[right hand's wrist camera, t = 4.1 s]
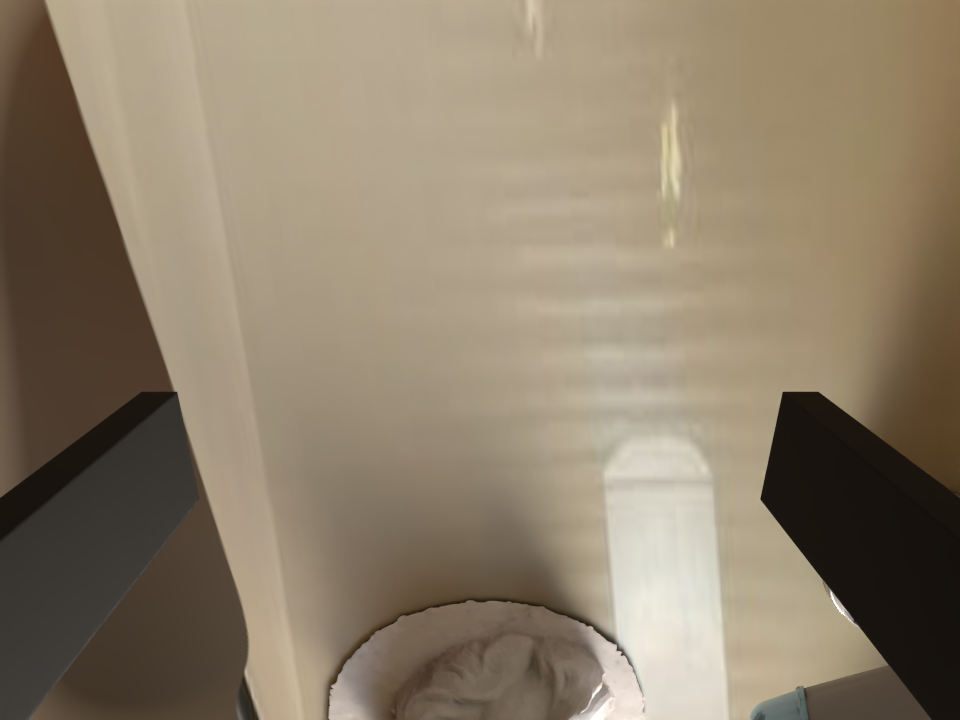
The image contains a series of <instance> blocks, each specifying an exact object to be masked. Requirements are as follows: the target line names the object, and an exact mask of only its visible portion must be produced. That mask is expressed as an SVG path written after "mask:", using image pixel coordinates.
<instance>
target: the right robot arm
mask: <svg viewBox="0 0 960 720" xmlns="http://www.w3.org/2000/svg"><path fill="white" fill-rule="evenodd" d="M198 501H199V494H198V490H197V485H196V480H195V475H194V470H193V466H192V461H191V456H190V451H189V446H188V442H187V437H186V432H185V427H184V423H183V418H182V413H181V408H180V403H179V399H178V394H177V392H141V393H140V394H138V395H137V396H136V397H134V398H133V399H132V400H130V401H129V402H128V403H126V404H125V405H124V406H122V407H121V408H120V409H118V410H117V411H116V412H114V413H113V414H112V415H110V416H109V417H108V418H106V419H105V420H104V421H102V422H101V423H100V424H98V425H97V426H96V427H94V428H93V429H92V430H90V431H89V432H88V433H86V434H85V435H84V436H82V437H81V438H80V439H78V440H77V441H76V442H74V443H73V444H72V445H70V446H69V447H68V448H66V449H65V450H64V451H62V452H61V453H60V454H58V455H57V456H56V457H54V458H53V459H52V460H50V461H49V462H48V463H46V464H45V465H44V466H42V467H41V468H40V469H38V470H37V471H36V472H34V473H33V474H32V475H30V476H29V477H28V478H26V479H25V480H24V481H22V482H21V483H20V484H18V485H17V486H16V487H14V488H13V489H12V490H10V491H9V492H8V493H6V494H5V495H4V496H2V497H1V498H0V720H29V718H30V717H31V716H32V714H33V713H34V712H35V711H36V709H37V708H38V707H39V706H40V704H41V703H42V702H43V700H44V699H45V698H46V696H47V695H48V694H49V693H50V691H51V690H52V689H53V687H54V686H55V685H56V684H57V682H58V681H59V680H60V678H61V677H62V676H63V675H64V673H65V672H66V671H67V669H68V668H69V667H70V666H71V664H72V663H73V662H74V660H75V659H76V658H77V657H78V655H79V654H80V653H81V651H82V650H83V649H84V648H85V646H86V645H87V644H88V642H89V641H90V640H91V639H92V637H93V636H94V635H95V633H96V632H97V631H98V629H99V628H100V627H101V626H102V624H103V623H104V622H105V621H106V619H107V618H108V617H109V615H110V614H111V613H112V612H113V610H114V609H115V608H116V606H117V605H118V604H119V602H120V601H121V600H122V599H123V597H124V596H125V595H126V593H127V592H128V591H129V590H130V588H131V587H132V586H133V584H134V583H135V582H136V581H137V579H138V578H139V577H140V575H141V574H142V573H143V571H144V570H145V569H146V568H147V566H148V565H149V564H150V563H151V561H152V560H153V559H154V557H155V556H156V555H157V554H158V552H159V551H160V550H161V548H162V547H163V546H164V545H165V543H166V542H167V541H168V539H169V538H170V537H171V535H172V534H173V533H174V532H175V530H176V529H177V528H178V526H179V525H180V524H181V523H182V521H183V520H184V519H185V517H186V516H187V515H188V514H189V512H190V511H191V510H192V508H193V507H194V506H195V505H196V503H197V502H198ZM761 501H762V502H763V503H764V505H765V506H766V507H767V508H768V510H769V511H770V512H771V514H772V515H773V516H774V517H775V519H776V520H777V521H778V523H779V524H780V525H781V526H782V528H783V529H784V530H785V532H786V533H787V534H788V536H789V537H790V538H791V539H792V541H793V542H794V543H795V545H796V546H797V547H798V548H799V550H800V551H801V552H802V554H803V555H804V556H805V557H806V559H807V560H808V561H809V563H810V564H811V565H812V566H813V568H814V569H815V570H816V572H817V573H818V574H819V575H820V577H821V578H822V579H823V581H824V582H825V583H826V584H827V586H828V587H829V588H830V590H831V591H832V592H833V593H834V595H835V596H836V597H837V599H838V600H839V601H840V602H841V604H842V605H843V606H844V608H845V609H846V610H847V612H848V613H849V614H850V615H851V617H852V618H853V619H854V621H855V622H856V623H857V624H858V626H859V627H860V628H861V630H862V631H863V632H864V633H865V635H866V636H867V637H868V639H869V640H870V641H871V642H872V644H873V645H874V646H875V648H876V649H877V650H878V651H879V653H880V654H881V655H882V657H883V658H884V659H885V660H886V662H887V663H888V664H889V666H890V667H891V668H892V669H893V671H894V672H895V673H896V675H897V676H898V677H899V678H900V680H901V681H902V682H903V684H904V685H905V686H906V688H907V689H908V690H909V691H910V693H911V694H912V695H913V697H914V698H915V699H916V700H917V702H918V703H919V704H920V706H921V707H922V708H923V709H924V711H925V712H926V713H927V715H928V716H929V717H930V718H931V720H960V498H959V497H958V496H956V495H955V494H954V493H952V492H951V491H950V490H948V489H947V488H946V487H944V486H943V485H942V484H940V483H939V482H938V481H936V480H935V479H934V478H932V477H931V476H930V475H928V474H927V473H926V472H924V471H923V470H922V469H920V468H919V467H918V466H916V465H915V464H914V463H912V462H911V461H910V460H908V459H907V458H906V457H904V456H903V455H902V454H900V453H899V452H898V451H896V450H895V449H894V448H892V447H891V446H890V445H888V444H887V443H886V442H884V441H883V440H882V439H880V438H879V437H878V436H876V435H875V434H874V433H872V432H871V431H870V430H868V429H867V428H866V427H864V426H863V425H862V424H860V423H859V422H858V421H856V420H855V419H854V418H852V417H851V416H850V415H848V414H847V413H846V412H844V411H843V410H842V409H840V408H839V407H838V406H836V405H835V404H834V403H832V402H831V401H830V400H828V399H827V398H826V397H824V396H823V395H822V394H820V393H819V392H783V394H782V399H781V403H780V408H779V413H778V418H777V423H776V427H775V432H774V437H773V442H772V446H771V451H770V456H769V461H768V465H767V470H766V475H765V480H764V485H763V489H762V494H761Z"/></svg>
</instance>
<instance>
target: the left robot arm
mask: <svg viewBox="0 0 960 720" xmlns="http://www.w3.org/2000/svg"><path fill="white" fill-rule="evenodd" d="M952 493H954V492H952ZM954 494H955V495H956V496H958V497H959V498H960V494H957V493H954ZM823 584H824V587H825V590H826V592H827V594H828V596H829V597H830V599H831V600H832V601H833V603H834V604H835V605H836V606H837V608H838V609H839V610H840V611H841V613H842V614H843V615H844V616H845V617H846V618H847V619H848V620H850V621H851V622H852V623H853V624H854V625H856V626H857V627H858V628H860V627H859V626H858V624H857V623H856V622H855V621H854V619H853V618H852V617H851V615H850V614H849V613H848V612H847V610H846V609H845V608H844V606H843V605H842V604H841V602H840V601H839V600H838V599H837V597H836V596H835V595H834V593H833V592H832V591H831V590H830V588H829V587H828V586H827V584H826V583H825V582H824V581H823ZM860 629H861V628H860ZM750 720H931V718H930V717H929V716H928V715H927V713H926V712H925V711H924V709H923V708H922V707H921V706H920V704H919V703H918V702H917V700H916V699H915V698H914V697H913V695H912V694H911V693H910V691H909V690H908V689H907V688H906V686H905V685H904V684H903V682H902V681H901V680H900V678H899V677H898V676H897V675H896V673H895V672H894V671H893V669H892V668H891V667H890V666H889V665H888V666H884V667H880V668H877V669H873V670H869V671H866V672H862V673H858V674H855V675H851V676H847V677H844V678H840V679H836V680H833V681H829V682H826V683H822V684H818V685H815V686H811V687H807V688H803V686H799V687H797V688H796V690H795V691H793V692H790V693H787V694H784V695H782V696H779V697H776V698H773V699H770V700H767V701H764V702H762V703H760V704H758V705H757V706H756V707H755V708H754V709H753V711H752V713H751V716H750Z"/></svg>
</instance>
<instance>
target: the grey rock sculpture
mask: <svg viewBox="0 0 960 720" xmlns="http://www.w3.org/2000/svg"><path fill="white" fill-rule="evenodd" d="M616 650H617V645H615V644H612V643H611V642H607V641H606V639H605V638H603V637H602V636H601V635H600V634H598V633H596V631H593V627H591V626H588V627H586V625H585V624H584V623H579V622H578V621H576V620H573V619H571V618H569V619H568V617H567V616H565V615H559V614H556V613H553V612H552V611H550V610H547V609H546V608H545V607H544V606H539V607H535V606H529V605H528V604H523V605H521V604H519V603H516V602H515V603H514V604H512V603H511V602H510V601H508V602H507V603H504V602H499V601H487V602H486V603H479V602H475V601H473V600H467V602H466V603H460V604H451V605H447V606H441V607H439V608H432V607H431V608H428V609H426V610H425V611H423V612H422V613H419V612H417V613H416V614H411V615H409V616H405V615H403V616H401V617H399V618H398V619H397V622H395V623H394V624H392V625H389V626H387V627H386V628H382V631H381V630H378V631H376V632H375V634H374V635H372V636H371V639H369V641H368V642H365V643H363V644H362V646H361V648H360V649H357V650H356V652H354V655H352V658H349V659H348V660H347V661H346V664H345V665H344V666H343V670H342V671H341V673H340V674H339V675H338V680H337V682H336V683H335V684H334V685H331V687H332V688H333V689H334V690H330V694H331V695H332V696H329V698H330V699H331V701H330V702H329V703H330V707H329V717H328V718H329V719H330V720H645V719H647V717H646V714H645V713H644V712H643V711H642V710H643V708H644V706H646V704H645V703H644V701H643V699H644V697H642V695H643V693H642V692H640V688H639V684H638V683H637V679H636V675H635V674H634V672H633V667H632V666H630V665H629V664H628V661H627V658H626V657H625V655H624V656H621V653H622V652H620V651H616Z"/></svg>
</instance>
